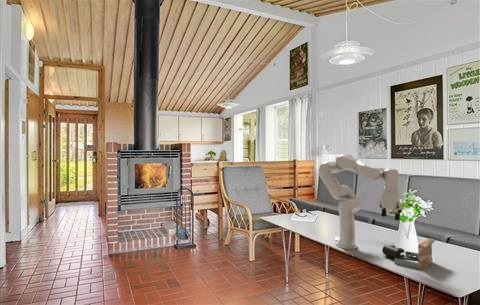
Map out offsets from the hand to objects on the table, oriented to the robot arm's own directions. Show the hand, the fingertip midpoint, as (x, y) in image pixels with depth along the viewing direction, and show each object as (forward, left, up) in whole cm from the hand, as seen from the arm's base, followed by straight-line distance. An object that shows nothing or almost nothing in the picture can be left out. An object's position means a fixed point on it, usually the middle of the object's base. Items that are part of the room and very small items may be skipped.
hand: (390, 218), depth 181 cm
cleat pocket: (+12, -1, -23) cm, 26 cm away
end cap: (+2, -1, -24) cm, 24 cm away
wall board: (+18, -1, -23) cm, 30 cm away
